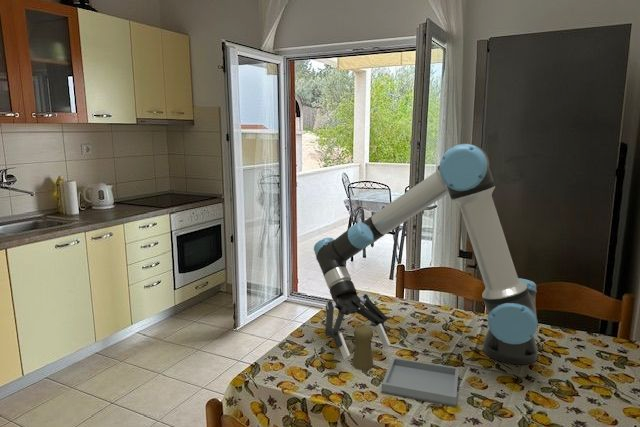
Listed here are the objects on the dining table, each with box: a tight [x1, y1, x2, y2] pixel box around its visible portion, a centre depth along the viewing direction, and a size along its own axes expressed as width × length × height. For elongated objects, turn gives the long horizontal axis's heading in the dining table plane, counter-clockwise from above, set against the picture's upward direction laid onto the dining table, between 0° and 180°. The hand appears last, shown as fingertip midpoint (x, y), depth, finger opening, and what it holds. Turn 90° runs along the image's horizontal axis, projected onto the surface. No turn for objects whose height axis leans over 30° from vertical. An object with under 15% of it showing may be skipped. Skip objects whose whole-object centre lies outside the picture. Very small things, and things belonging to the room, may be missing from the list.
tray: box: [381, 356, 460, 408], centre depth 115 cm, size 18×15×2 cm
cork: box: [351, 326, 374, 371], centre depth 125 cm, size 6×6×11 cm
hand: (367, 351), depth 123 cm, fingers open, 13 cm apart
